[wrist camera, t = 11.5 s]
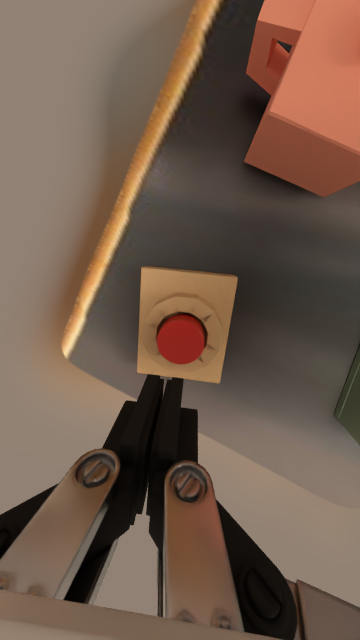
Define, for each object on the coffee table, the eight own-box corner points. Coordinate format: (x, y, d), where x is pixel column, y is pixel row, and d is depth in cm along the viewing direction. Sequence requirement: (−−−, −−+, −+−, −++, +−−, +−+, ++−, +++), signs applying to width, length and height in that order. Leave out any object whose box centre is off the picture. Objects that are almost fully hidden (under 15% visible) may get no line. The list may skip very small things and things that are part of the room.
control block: (147, 265, 20) (135, 268, 16) (234, 274, 20) (242, 279, 16) (142, 362, 23) (131, 383, 19) (217, 371, 23) (221, 395, 19)
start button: (162, 311, 18) (158, 317, 16) (206, 316, 17) (207, 323, 16) (159, 352, 19) (155, 361, 17) (201, 357, 18) (201, 367, 17)
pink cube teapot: (353, 216, 18) (476, 186, 10) (216, 156, 17) (231, 74, 9) (421, 102, 15) (655, -57, 7) (265, 30, 15) (339, -221, 7)
